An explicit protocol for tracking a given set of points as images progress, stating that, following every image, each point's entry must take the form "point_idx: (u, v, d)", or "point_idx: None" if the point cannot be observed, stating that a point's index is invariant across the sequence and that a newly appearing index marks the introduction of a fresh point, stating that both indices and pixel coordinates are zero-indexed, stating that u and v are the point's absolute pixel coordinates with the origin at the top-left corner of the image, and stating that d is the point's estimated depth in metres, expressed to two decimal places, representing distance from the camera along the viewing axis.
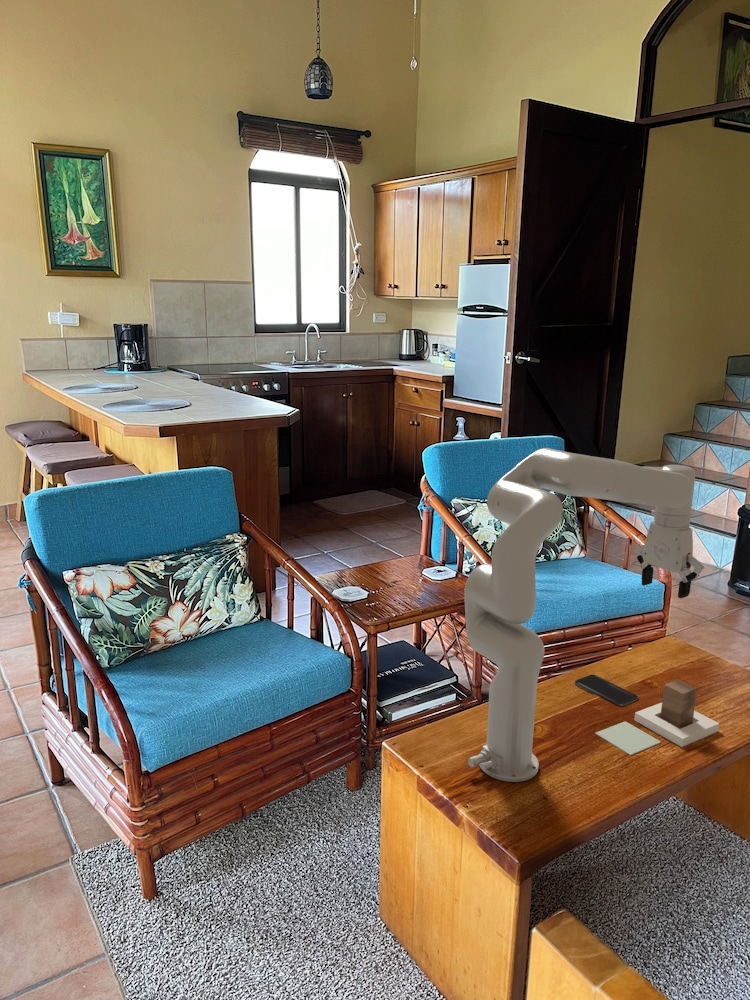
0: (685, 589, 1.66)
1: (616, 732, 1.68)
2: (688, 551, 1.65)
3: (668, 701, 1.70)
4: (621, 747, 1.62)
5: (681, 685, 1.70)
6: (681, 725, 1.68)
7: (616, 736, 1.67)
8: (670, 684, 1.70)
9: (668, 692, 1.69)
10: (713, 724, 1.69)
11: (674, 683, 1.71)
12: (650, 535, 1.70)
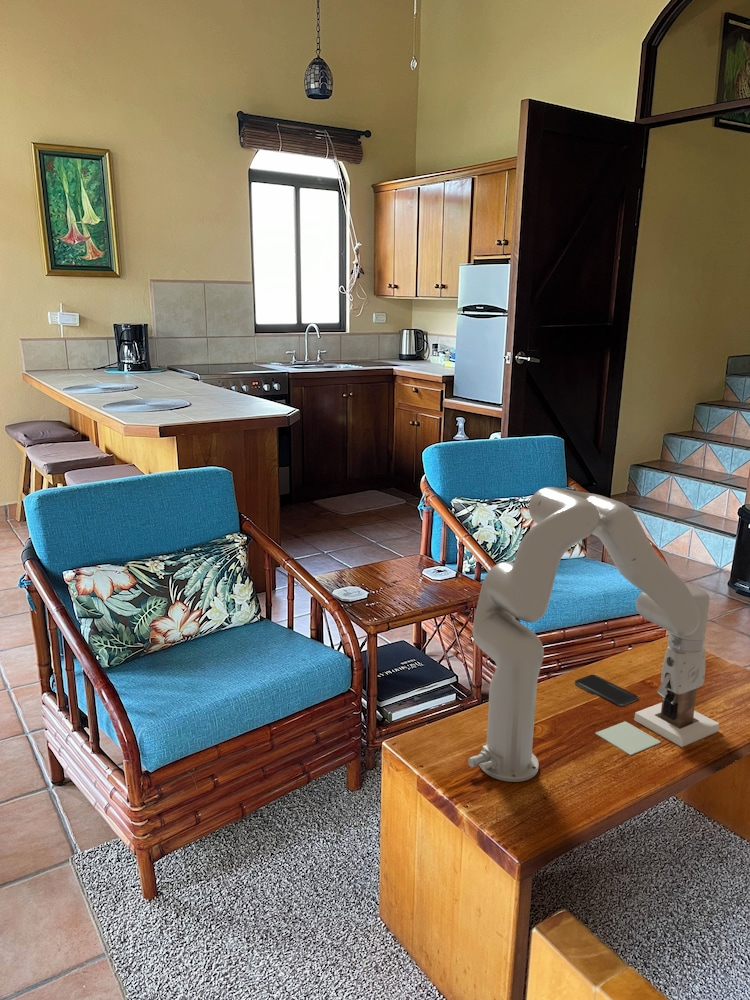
0: None
1: (616, 732, 1.68)
2: None
3: None
4: (621, 747, 1.62)
5: None
6: (681, 725, 1.68)
7: (616, 736, 1.67)
8: None
9: None
10: (713, 724, 1.69)
11: None
12: (684, 666, 1.64)
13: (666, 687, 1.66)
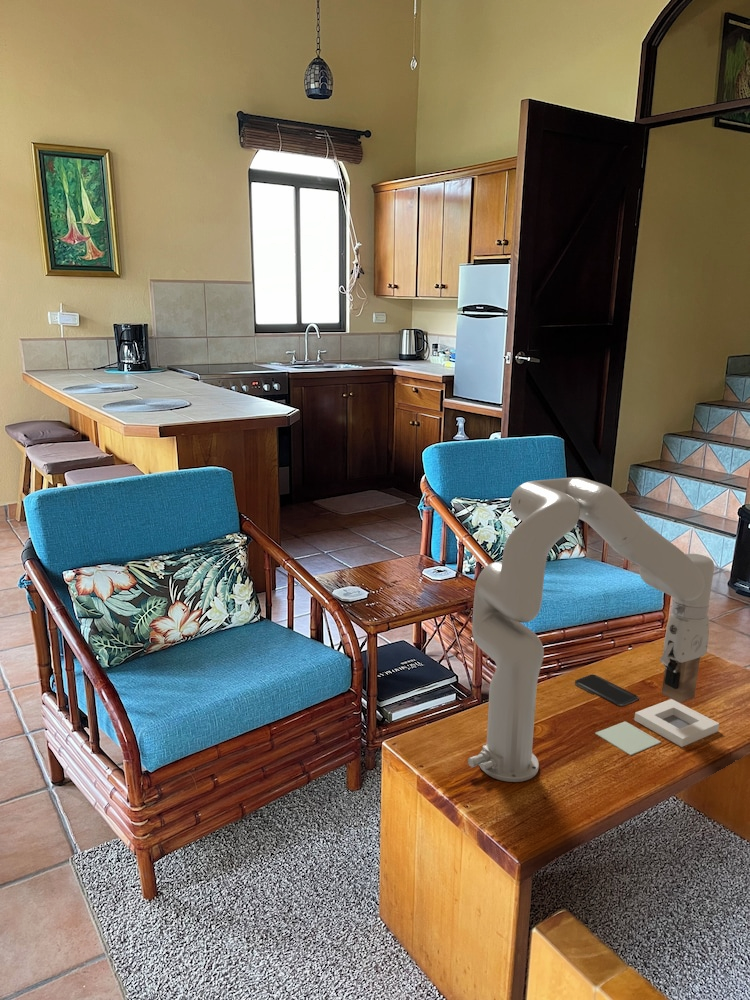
0: None
1: (616, 732, 1.68)
2: None
3: None
4: (621, 747, 1.62)
5: None
6: (683, 695, 1.66)
7: (616, 736, 1.67)
8: None
9: None
10: (713, 724, 1.69)
11: None
12: (687, 633, 1.62)
13: (669, 655, 1.64)
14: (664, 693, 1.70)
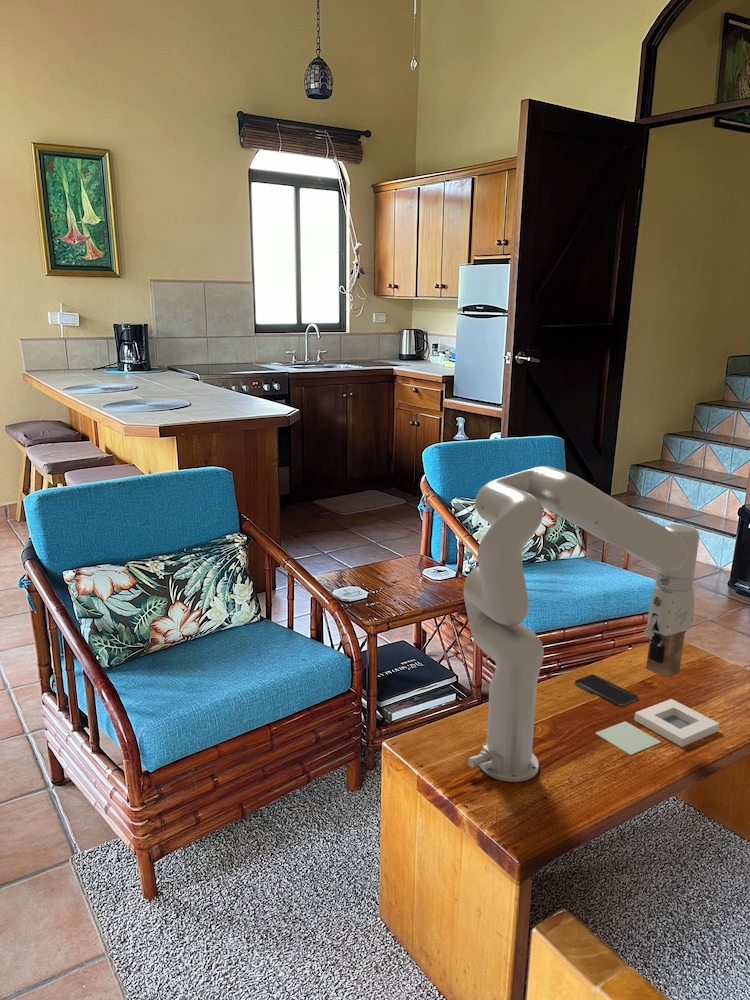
0: None
1: (616, 732, 1.68)
2: None
3: None
4: (621, 747, 1.62)
5: None
6: (668, 669, 1.63)
7: (616, 736, 1.67)
8: None
9: None
10: (713, 724, 1.69)
11: None
12: (672, 605, 1.58)
13: (653, 628, 1.60)
14: (649, 667, 1.66)
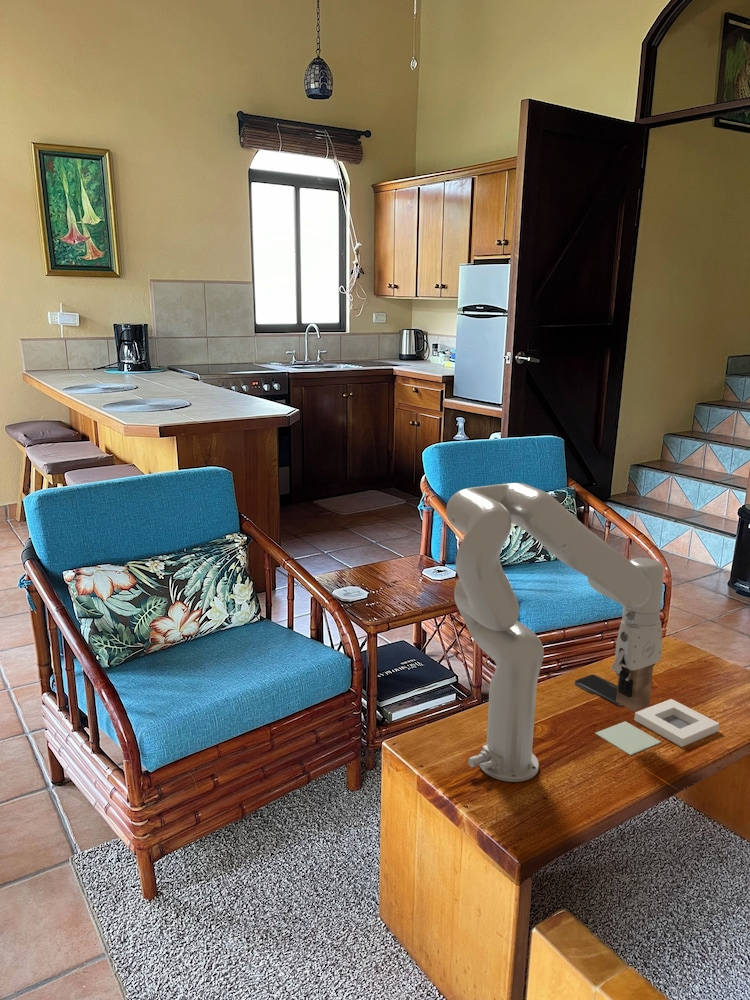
0: None
1: (616, 732, 1.68)
2: None
3: None
4: (621, 747, 1.62)
5: None
6: (637, 703, 1.61)
7: (616, 736, 1.67)
8: None
9: None
10: (713, 724, 1.69)
11: None
12: (638, 640, 1.57)
13: (620, 663, 1.58)
14: (619, 701, 1.65)
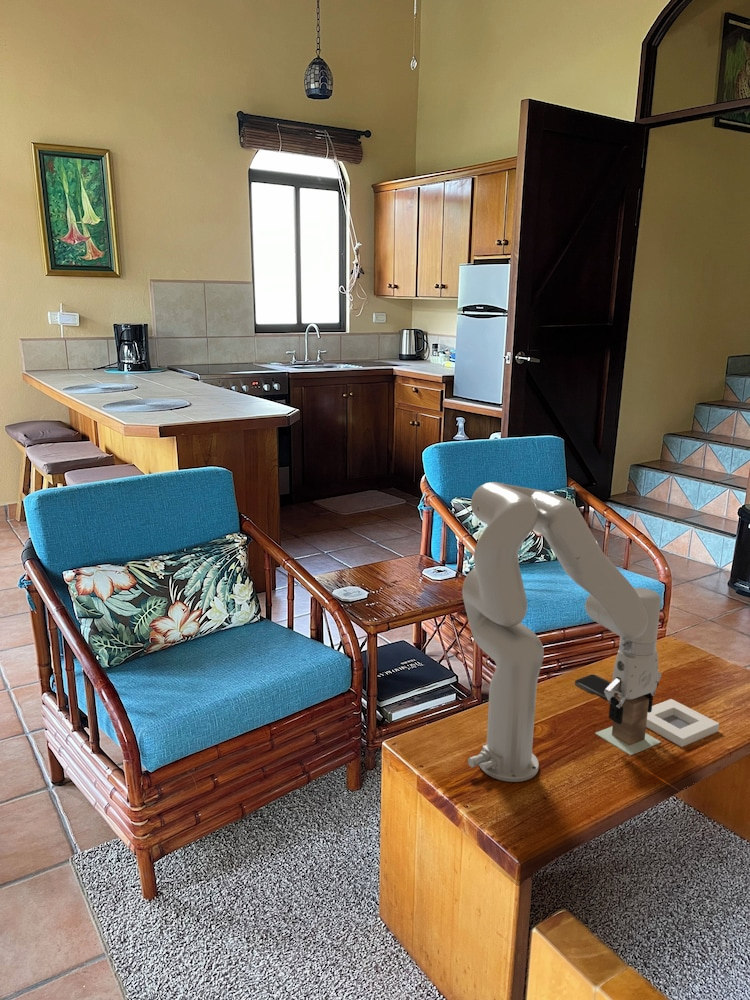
0: None
1: None
2: None
3: None
4: (621, 747, 1.62)
5: None
6: (632, 737, 1.63)
7: None
8: None
9: None
10: (713, 724, 1.69)
11: None
12: (635, 670, 1.58)
13: (617, 685, 1.59)
14: (614, 734, 1.66)
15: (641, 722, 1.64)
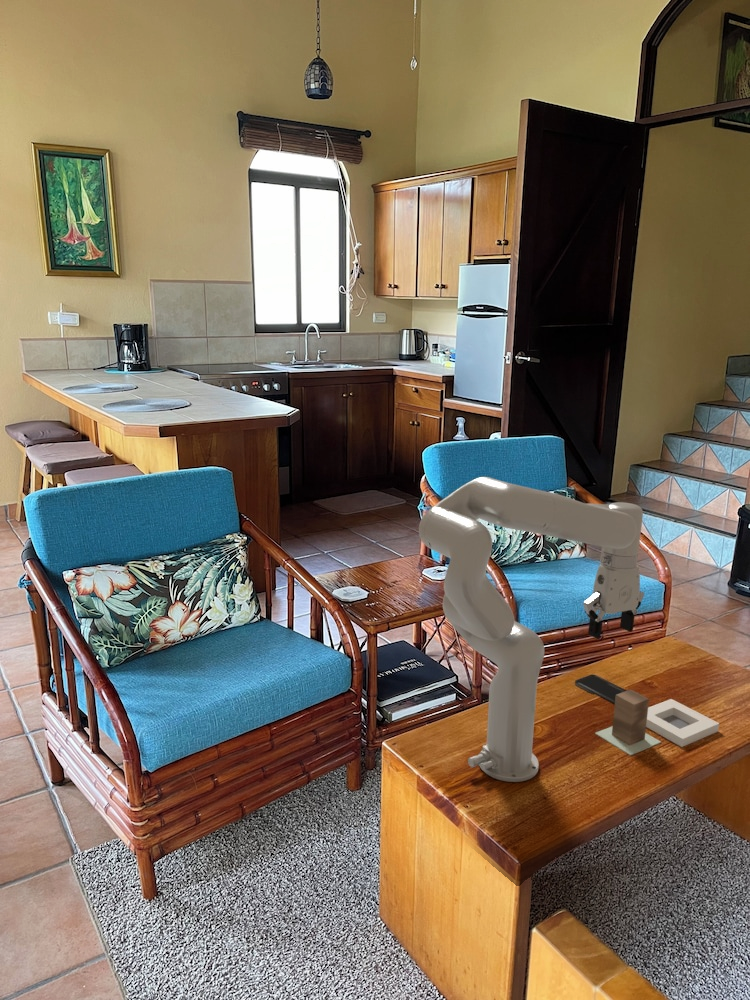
0: None
1: None
2: None
3: (619, 712, 1.64)
4: (621, 747, 1.62)
5: (633, 696, 1.64)
6: (632, 737, 1.63)
7: None
8: (621, 694, 1.65)
9: (619, 702, 1.64)
10: (713, 724, 1.69)
11: (626, 693, 1.65)
12: (614, 583, 1.57)
13: (596, 598, 1.59)
14: (614, 734, 1.66)
15: (641, 722, 1.64)
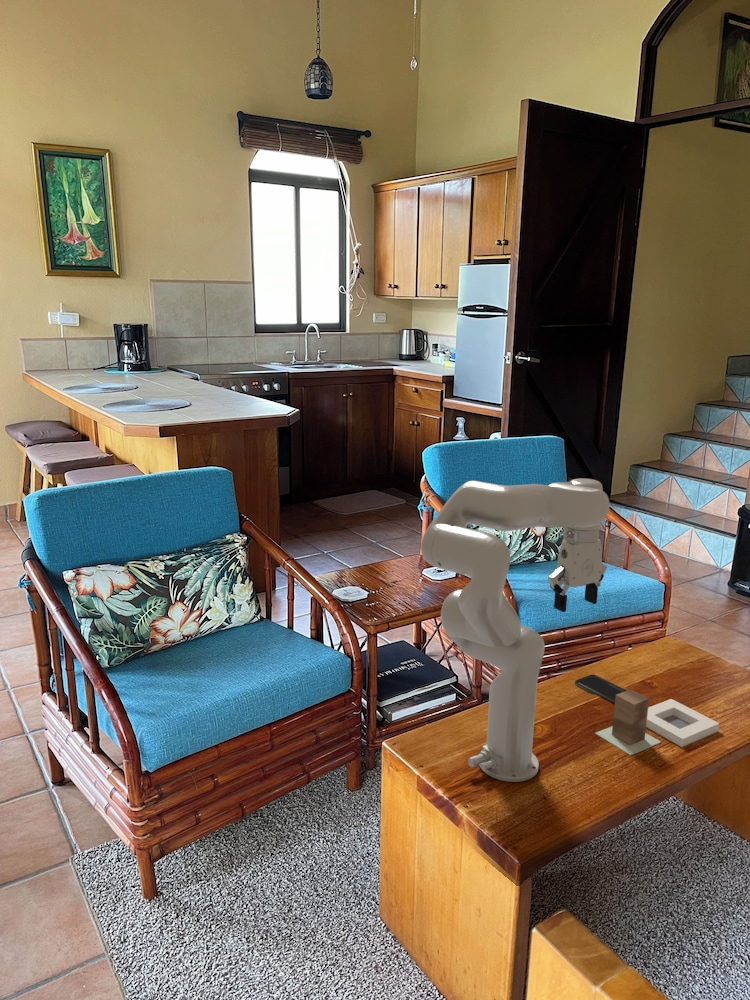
0: None
1: None
2: None
3: (619, 712, 1.64)
4: (621, 747, 1.62)
5: (633, 696, 1.64)
6: (632, 737, 1.63)
7: None
8: (621, 694, 1.65)
9: (619, 702, 1.64)
10: (713, 724, 1.69)
11: (626, 693, 1.65)
12: (577, 557, 1.62)
13: (560, 573, 1.63)
14: (614, 734, 1.66)
15: (641, 722, 1.64)
